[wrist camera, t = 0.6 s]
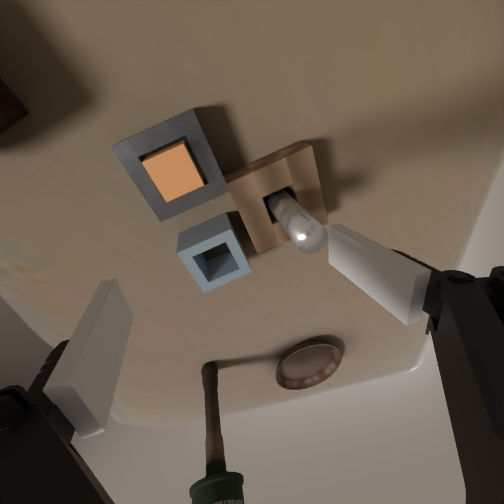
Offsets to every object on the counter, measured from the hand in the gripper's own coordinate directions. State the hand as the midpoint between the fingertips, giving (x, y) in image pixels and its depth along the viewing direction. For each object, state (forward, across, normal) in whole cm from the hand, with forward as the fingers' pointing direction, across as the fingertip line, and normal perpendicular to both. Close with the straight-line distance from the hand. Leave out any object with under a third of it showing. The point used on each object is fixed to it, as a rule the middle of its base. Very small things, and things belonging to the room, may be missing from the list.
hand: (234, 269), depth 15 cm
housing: (+24, -2, +5) cm, 24 cm away
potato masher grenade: (+29, -7, -40) cm, 50 cm away
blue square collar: (+25, 0, -8) cm, 26 cm away
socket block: (+23, +11, -2) cm, 26 cm away
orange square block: (+21, -2, +4) cm, 22 cm away
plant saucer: (+28, +17, -48) cm, 58 cm away
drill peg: (+23, +11, -2) cm, 26 cm away
